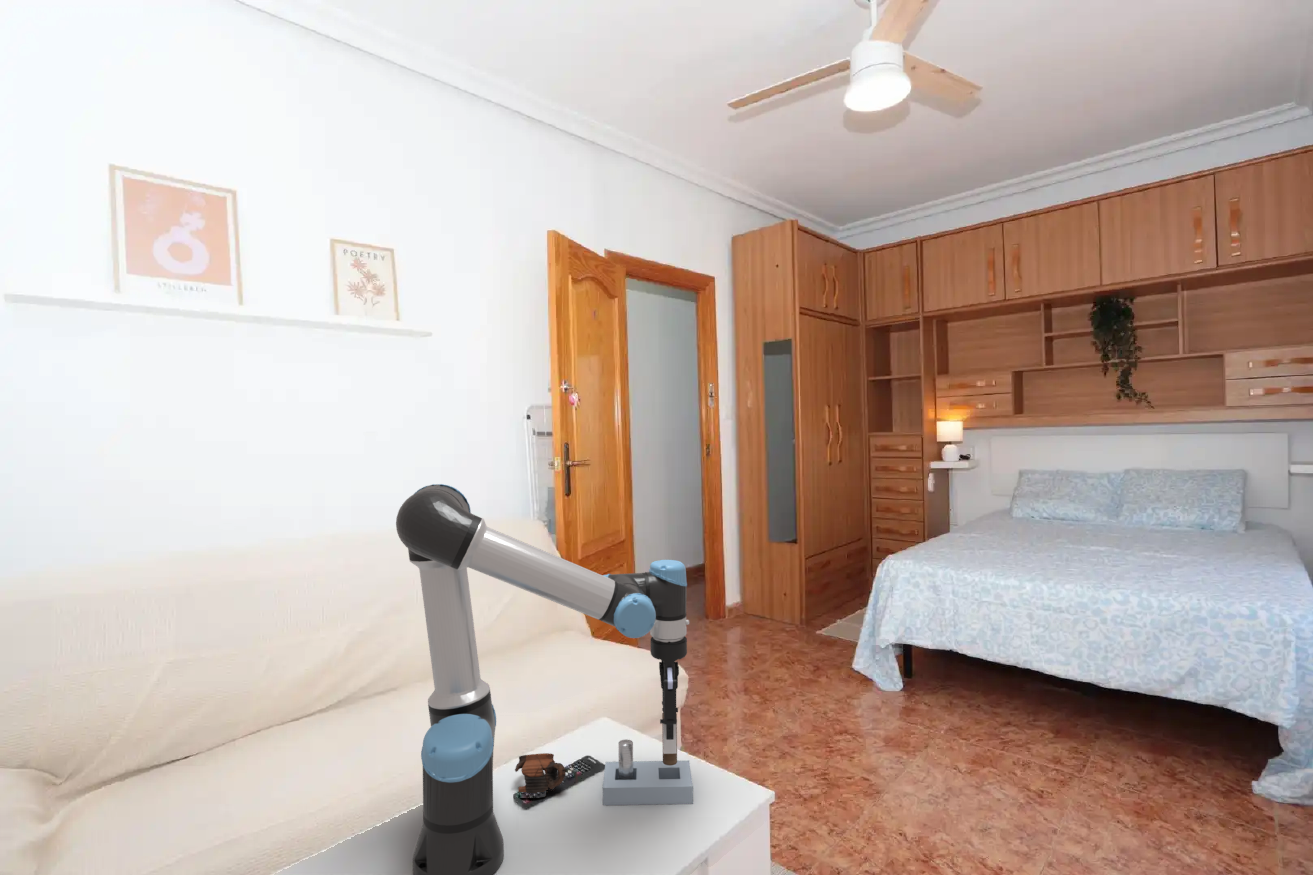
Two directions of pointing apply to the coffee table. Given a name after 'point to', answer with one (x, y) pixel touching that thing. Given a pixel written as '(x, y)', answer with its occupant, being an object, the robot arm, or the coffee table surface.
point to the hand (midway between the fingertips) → (669, 748)
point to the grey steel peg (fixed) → (625, 760)
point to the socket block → (649, 784)
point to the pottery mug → (540, 772)
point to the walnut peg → (670, 758)
